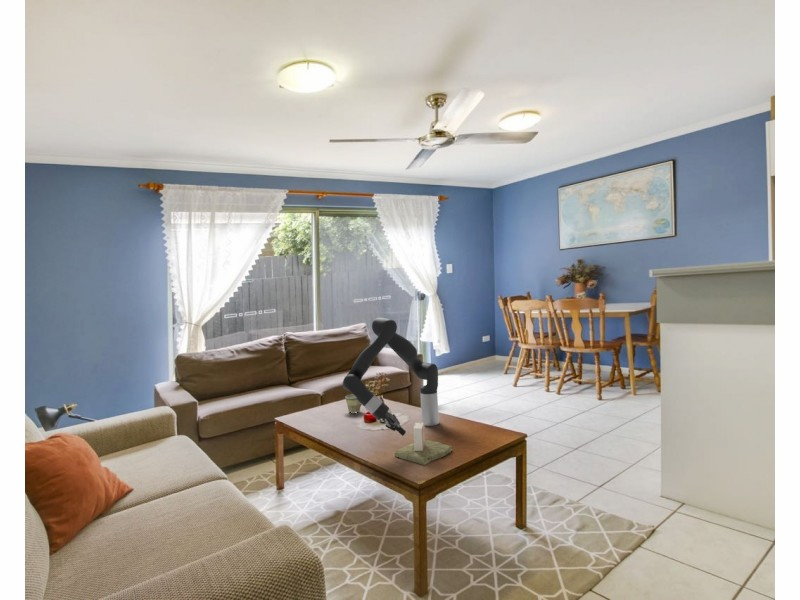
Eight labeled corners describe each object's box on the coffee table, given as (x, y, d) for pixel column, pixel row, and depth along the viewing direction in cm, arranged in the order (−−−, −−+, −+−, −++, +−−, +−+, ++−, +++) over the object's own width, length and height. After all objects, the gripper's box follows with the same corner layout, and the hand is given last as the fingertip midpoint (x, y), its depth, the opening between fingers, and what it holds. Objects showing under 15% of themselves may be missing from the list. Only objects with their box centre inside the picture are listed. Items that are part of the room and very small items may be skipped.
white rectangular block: (416, 444, 203) (415, 422, 203) (425, 444, 202) (424, 422, 202) (414, 450, 195) (413, 428, 195) (423, 450, 194) (422, 428, 194)
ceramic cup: (345, 415, 265) (344, 398, 265) (347, 410, 275) (346, 394, 275) (366, 413, 265) (366, 397, 265) (367, 409, 275) (367, 393, 275)
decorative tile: (394, 457, 197) (393, 450, 197) (422, 444, 212) (421, 437, 212) (426, 468, 185) (426, 459, 185) (454, 452, 200) (453, 445, 199)
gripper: (379, 405, 194) (408, 433, 193) (384, 397, 207) (411, 423, 206) (368, 417, 195) (396, 445, 194) (374, 409, 208) (401, 434, 207)
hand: (404, 433), depth 200 cm, fingers closed
